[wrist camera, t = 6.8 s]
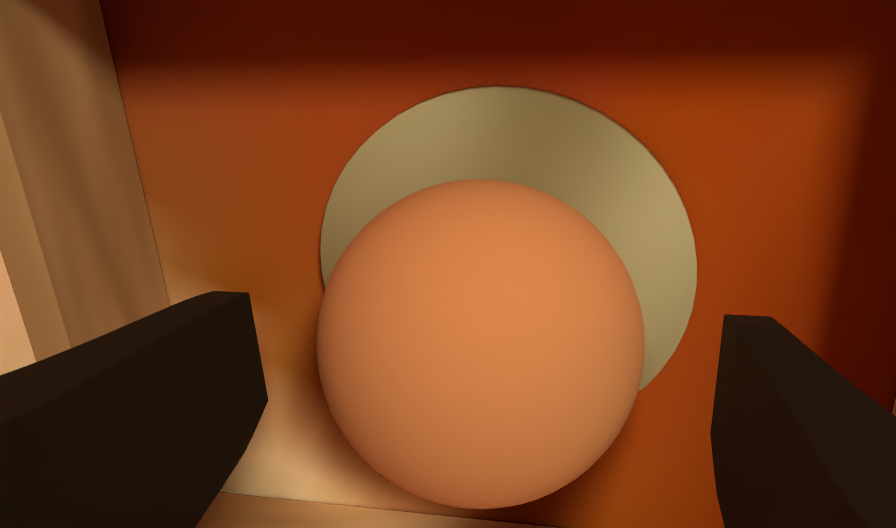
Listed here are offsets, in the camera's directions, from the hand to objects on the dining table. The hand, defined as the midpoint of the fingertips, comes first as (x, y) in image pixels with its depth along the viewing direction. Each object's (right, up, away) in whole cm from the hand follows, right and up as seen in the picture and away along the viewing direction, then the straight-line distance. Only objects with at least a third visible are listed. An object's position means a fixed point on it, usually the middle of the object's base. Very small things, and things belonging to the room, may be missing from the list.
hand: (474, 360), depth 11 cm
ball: (0, +1, +3) cm, 3 cm away
